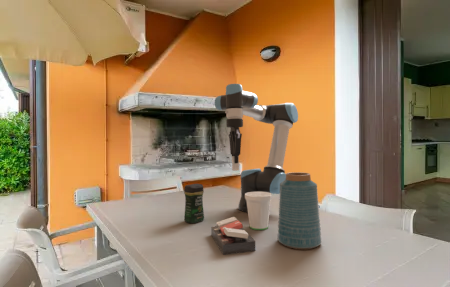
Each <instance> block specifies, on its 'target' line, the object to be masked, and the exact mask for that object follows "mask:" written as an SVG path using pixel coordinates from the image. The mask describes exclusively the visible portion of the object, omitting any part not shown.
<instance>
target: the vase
mask: <svg viewBox="0 0 450 287" xmlns="http://www.w3.org/2000/svg"><path fill="white" fill-rule="evenodd" d="M285 174H286V180H284V181H283V182H281V183H280V194H279V199H278V200H279V203H278V204H279V205H278V222H277V223H278V225H277V240H278V242H279V243H280V244H282V245H283V246H285V247H287V248H290V249H294V250H303V251H304V250H312V249H315V248H317V247H319V246H320V245H321V244H322V232H321V220H320V209H319V196H318V195H319V194H318V184H317V183H316V182H314V181H313V180H312V179H311V173H308V172H303V171H302V172H295V171H294V172H293V171H292V172H287V173H286V172H285Z"/></svg>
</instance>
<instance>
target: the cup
mask: <svg viewBox="0 0 450 287" xmlns="http://www.w3.org/2000/svg"><path fill="white" fill-rule="evenodd" d="M272 198H273V194H271V193H269V192H248V193H245V199H246V201H247V209H248V212H247V215H248V223H249V224H248V225H249V228H250V229H251V230H255V231H264V230H268V228H269V222H270V221H269V219H270V218H269V217H270V208H271V206H270V205H271V200H272Z"/></svg>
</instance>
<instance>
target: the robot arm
mask: <svg viewBox="0 0 450 287" xmlns="http://www.w3.org/2000/svg"><path fill="white" fill-rule="evenodd" d="M258 103H259V99H258V96H257V94H256V93H254V92H253V91H252V92H251V91H246V90H243V85H242V84H240V83H229V84H227V85H226V86H225V94H222V95H219V96H217V97H215V99H214V106H215V109H216V110H218V111H225V112H224V113H225V114H226V118H227V119H226V120H225V121H226V128H230V131H229V134H228V139H229V150H230V155H231V157H232V158H231V161H232V162H231V166H232V169H231V170H232V172H233V171H235V172H236V171H239V170H240V163H239V162H240V160H239V158H240V155H241V146H242V136H243V133H241V131H240V128H243V127H244V119H243V117H244V116H246V117H250V118H253V120H255V121H256V122H257V121H258V122H260V123H265V124H271V125H273V127H274V129H273V134H272V138H271V144H270V149H269V154H268V159H267V164H266V165H265V166H264V167H263V171H262V169H261V168H252V169H244V170H242V171H241V172H240V193H241V194H240V195H241V196H240V198H239V202H238V211H241V212H244V213H248V209H247V201H246V199H245V193H248V192H269V193H271V194H272V195H280V183H281V182H283V181H284V180H286V170H285V169H284V163H285V156H286V151H287V144H288V140H289V139H288V138H289V133H290V130H291V129H292V128H293V126H294V124H295V123H297V122H298V121H299V120H298V119H299V113H298V108H297V105H295V104H294V103H293V102H285V103H276V104H269V105H268V104H267V105H263V104H258Z"/></svg>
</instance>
